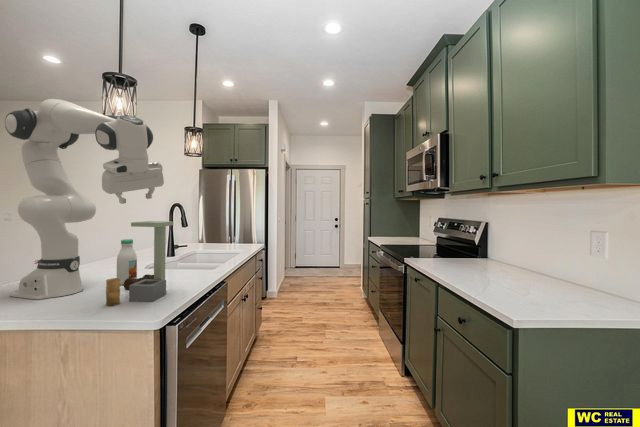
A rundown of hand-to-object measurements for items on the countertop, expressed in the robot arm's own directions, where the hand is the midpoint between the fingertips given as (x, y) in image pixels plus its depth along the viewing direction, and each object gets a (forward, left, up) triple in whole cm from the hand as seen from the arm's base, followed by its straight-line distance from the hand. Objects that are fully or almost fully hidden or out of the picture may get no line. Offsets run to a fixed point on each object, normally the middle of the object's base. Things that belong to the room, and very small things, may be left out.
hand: (136, 200), depth 108 cm
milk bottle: (-20, +23, -38) cm, 49 cm away
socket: (+2, +4, -38) cm, 38 cm away
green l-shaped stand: (+2, +7, -38) cm, 39 cm away
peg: (-6, -4, -38) cm, 38 cm away
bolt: (-10, +20, -38) cm, 44 cm away
